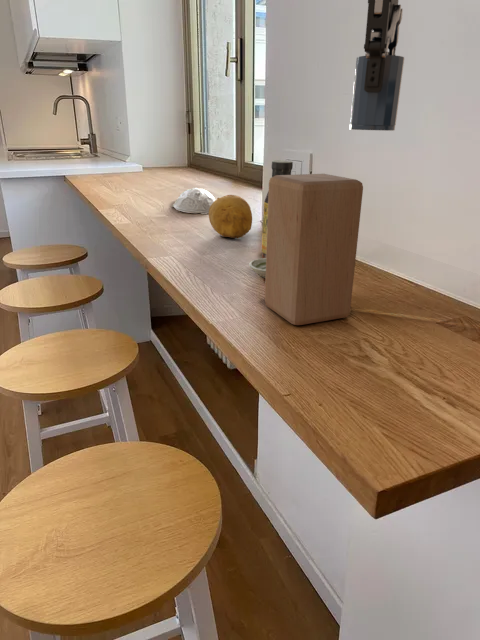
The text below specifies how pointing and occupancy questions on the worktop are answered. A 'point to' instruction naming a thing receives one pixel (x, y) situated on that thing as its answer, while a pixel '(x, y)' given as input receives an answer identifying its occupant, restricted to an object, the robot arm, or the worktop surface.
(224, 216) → the potato
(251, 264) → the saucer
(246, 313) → the worktop surface
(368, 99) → the cup
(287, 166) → the sauce bottle
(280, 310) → the block
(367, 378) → the worktop surface
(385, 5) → the robot arm
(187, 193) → the white lumpy mound
